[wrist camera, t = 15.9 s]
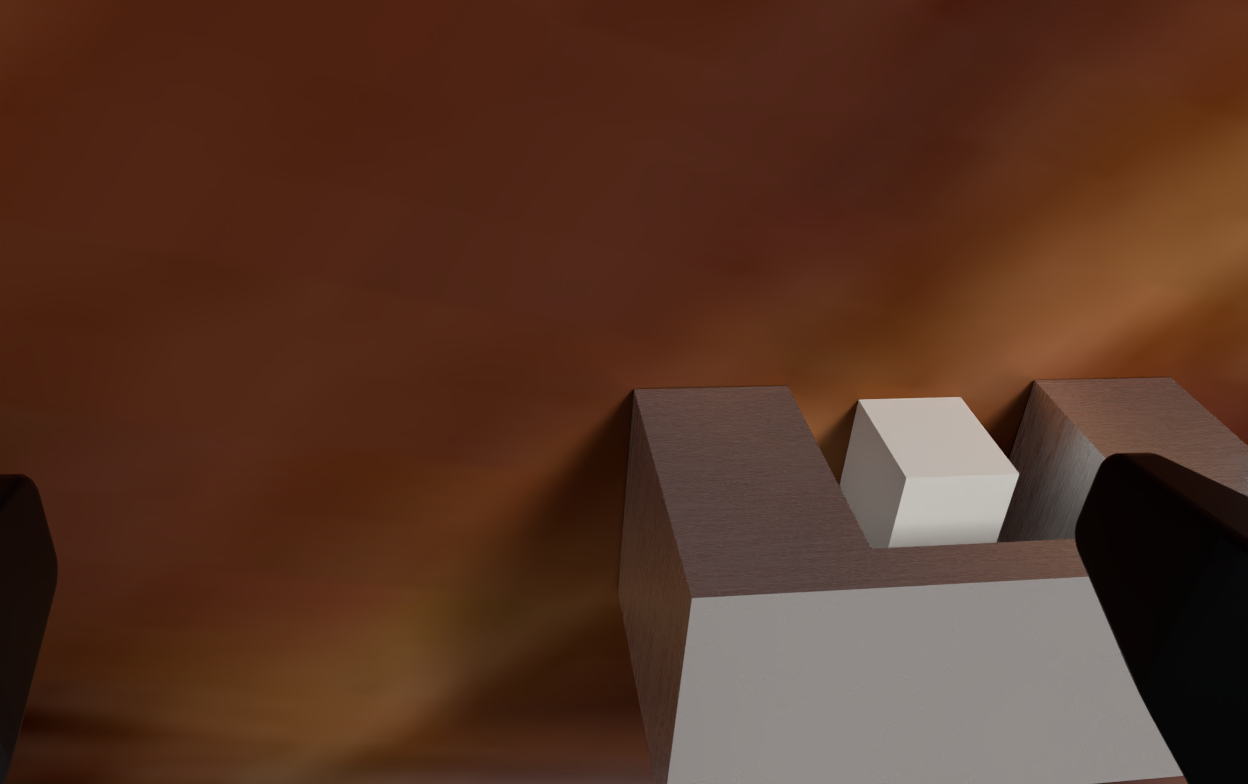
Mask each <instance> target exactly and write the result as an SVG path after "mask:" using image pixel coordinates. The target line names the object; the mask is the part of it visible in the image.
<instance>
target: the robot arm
mask: <svg viewBox="0 0 1248 784" xmlns="http://www.w3.org/2000/svg"><path fill="white" fill-rule="evenodd" d="M1075 543H1076V548H1077V551H1078V553H1079V556H1080V558H1081V560H1082V563H1083V565H1084V568H1085V570H1086V572H1087V575H1088V577H1089V579H1090V582H1091V584H1092V586H1093V589H1094V591H1095V593H1096V596H1097V598H1098V600H1099V603H1100V605H1101V607H1102V610H1103V612H1104V614H1105V617H1106V619H1107V621H1108V624H1109V626H1110V628H1111V631H1112V633H1113V635H1114V638H1115V640H1116V642H1117V645H1118V647H1119V649H1120V652H1121V654H1122V657H1123V659H1124V661H1125V664H1126V666H1127V668H1128V670H1129V673H1130V675H1131V677H1132V679H1133V681H1134V684H1135V686H1136V688H1137V690H1138V692H1139V694H1140V696H1141V698H1142V700H1143V702H1144V704H1145V706H1146V708H1147V710H1148V712H1149V714H1150V716H1151V718H1152V719H1153V721H1154V723H1155V725H1156V727H1157V729H1158V730H1159V732H1160V734H1161V736H1162V738H1163V739H1164V741H1165V743H1166V745H1167V747H1168V749H1169V750H1170V752H1171V754H1172V756H1173V758H1174V759H1175V761H1176V763H1177V765H1178V767H1179V769H1180V770H1181V772H1182V774H1183V776H1184V778H1185V779H1186V781H1187V783H1188V784H1248V496H1246V495H1244V494H1242V493H1240V492H1238V491H1235V490H1233V489H1231V488H1229V487H1227V486H1225V485H1223V484H1221V483H1218V482H1216V481H1214V480H1212V479H1210V478H1208V477H1206V476H1204V475H1201V474H1199V473H1197V472H1195V471H1193V470H1191V469H1189V468H1187V467H1184V466H1182V465H1180V464H1178V463H1176V462H1174V461H1172V460H1169V459H1167V458H1165V457H1163V456H1161V455H1158V454H1155V453H1149V452H1144V453H1115V454H1112V455H1110V456H1108V457H1107V458H1106V459H1105V460H1104V461H1103V462H1102V463H1101V464H1100V466H1099V468H1098V470H1097V473H1096V475H1095V477H1094V480H1093V482H1092V485H1091V487H1090V489H1089V492H1088V494H1087V497H1086V499H1085V502H1084V504H1083V506H1082V509H1081V511H1080V514H1079V516H1078V518H1077V521H1076V525H1075ZM57 576H58V565H57V557H56V552H55V549H54V545H53V542H52V538H51V534H50V531H49V527H48V524H47V520H46V516H45V513H44V509H43V505H42V502H41V498H40V495H39V492H38V489H37V487H36V485H35V483H34V482H33V480H32V479H30V478H29V477H27V476H25V475H23V474H0V784H4V783H5V780H6V777H7V774H8V771H9V769H10V766H11V762H12V759H13V755H14V751H15V748H16V744H17V741H18V737H19V733H20V729H21V725H22V721H23V717H24V713H25V709H26V705H27V701H28V697H29V693H30V689H31V685H32V681H33V677H34V673H35V669H36V665H37V661H38V657H39V653H40V649H41V645H42V641H43V637H44V633H45V629H46V625H47V621H48V617H49V613H50V609H51V605H52V601H53V598H54V593H55V589H56V584H57Z"/></svg>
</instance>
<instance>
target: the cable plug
mask: <svg viewBox="0 0 1248 784" xmlns="http://www.w3.org/2000/svg"><path fill="white" fill-rule="evenodd" d="M1018 477H1019V473H1018V471H1017V470H1016V469H1015V467H1014V466H1013V465H1012V464H1011V462H1010V461H1009V460H1008V458H1007V457H1006V456H1005V454H1004V453H1003V452H1002V451H1001V449H1000V448H999V447H998V445H997V444H996V443H995V441H994V440H993V439H992V438H991V436H990V435H989V434H988V432H987V431H986V430H985V428H984V427H983V426H982V425H981V423H980V422H979V421H978V419H977V418H976V417H975V415H974V414H973V413H972V412H971V410H970V409H969V408H968V406H967V405H966V404H965V402H964V401H963V400H962V399H961V397H948V398H908V399H867V400H858V405H857V409H856V414H855V418H854V423H853V427H852V432H851V436H850V441H849V445H848V450H847V454H846V459H845V464H844V468H843V473H842V477H841V482H840V486H839V487H840V488H841V490H842V492H843V494H844V496H845V498H846V500H847V502H848V504H849V506H850V508H851V510H852V512H853V514H854V516H855V518H856V519H857V521H858V523H859V525H860V527H861V529H862V531H863V533H864V535H865V537H866V539H867V541H868V543H869V545H870V547H871V548H872V549H874V548H895V547H915V546H936V545H957V544H978V543H996V542H997V539H998V536H999V533H1000V530H1001V527H1002V524H1003V521H1004V518H1005V515H1006V512H1007V509H1008V506H1009V503H1010V500H1011V498H1012V495H1013V492H1014V489H1015V486H1016V483H1017V480H1018Z"/></svg>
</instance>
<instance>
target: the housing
mask: <svg viewBox="0 0 1248 784" xmlns="http://www.w3.org/2000/svg"><path fill="white" fill-rule="evenodd" d="M1144 452H1149V453H1155V454H1158V455H1161V456H1163V457H1165V458H1167V459H1169V460H1172V461H1174V462H1176V463H1178V464H1180V465H1182V466H1184V467H1187V468H1189V469H1191V470H1193V471H1195V472H1197V473H1199V474H1201V475H1204V476H1206V477H1208V478H1210V479H1212V480H1214V481H1216V482H1218V483H1221V484H1223V485H1225V486H1227V487H1229V488H1231V489H1233V490H1235V491H1238V492H1240V493H1242V494H1244V495H1246V496H1248V446H1247V445H1246V444H1245V443H1244V442H1242V441H1241V440H1240V439H1239V438H1238V437H1237V436H1236V435H1235V434H1233V433H1232V432H1231V431H1230V430H1229V429H1228V428H1227V427H1226V426H1225V425H1223V424H1222V423H1221V422H1220V421H1219V420H1218V419H1217V418H1216V417H1214V416H1213V415H1212V414H1211V413H1210V412H1209V411H1208V410H1207V409H1205V408H1204V407H1203V406H1202V405H1201V404H1200V403H1199V402H1198V401H1196V400H1195V399H1194V398H1193V397H1192V396H1191V395H1190V394H1189V393H1187V392H1186V391H1185V390H1184V389H1183V388H1182V387H1181V386H1180V385H1178V384H1177V383H1176V382H1175V381H1174V380H1173V379H1172V378H1129V379H1084V380H1039V381H1035V382H1034V385H1033V388H1032V391H1031V394H1030V397H1029V400H1028V403H1027V406H1026V409H1025V412H1024V415H1023V419H1022V422H1021V425H1020V428H1019V431H1018V434H1017V437H1016V440H1015V443H1014V446H1013V449H1012V452H1011V455H1010V458H1009V461H1010V462H1011V464H1012V465H1013V466H1014V467H1015V469H1016V470H1017V471H1018V473H1019V477H1018V480H1017V483H1016V486H1015V489H1014V492H1013V495H1012V498H1011V500H1010V503H1009V506H1008V509H1007V512H1006V515H1005V518H1004V521H1003V524H1002V527H1001V530H1000V533H999V536H998V539H997V542H996V543H978V544H957V545H936V546H915V547H895V548H874V549H872V548H871V547H870V545H869V543H868V541H867V539H866V537H865V535H864V533H863V531H862V529H861V527H860V525H859V523H858V521H857V519H856V518H855V516H854V514H853V512H852V510H851V508H850V506H849V504H848V502H847V500H846V498H845V496H844V494H843V492H842V490H841V488H840V487H839V485H838V483H837V481H836V479H835V477H834V475H833V473H832V471H831V469H830V467H829V465H828V463H827V461H826V459H825V458H824V456H823V454H822V452H821V450H820V448H819V446H818V444H817V442H816V440H815V438H814V436H813V434H812V432H811V430H810V429H809V427H808V425H807V423H806V421H805V419H804V417H803V415H802V413H801V411H800V409H799V407H798V405H797V403H796V401H795V399H794V398H793V396H792V394H791V392H790V390H789V388H788V386H770V387H726V388H681V389H636V390H634V396H633V408H632V421H631V433H630V445H629V458H628V470H627V483H626V495H625V508H624V520H623V533H622V545H621V558H620V570H619V583H618V595H619V600H620V606H621V611H622V616H623V621H624V626H625V632H626V637H627V642H628V647H629V652H630V658H631V663H632V668H633V673H634V678H635V684H636V689H637V694H638V699H639V704H640V709H641V715H642V720H643V725H644V730H645V735H646V741H647V746H648V751H649V756H650V761H651V767H652V772H653V777H654V782H655V784H1094V783H1105V782H1116V781H1128V780H1139V779H1150V778H1162V777H1173V776H1183V774H1182V772H1181V770H1180V769H1179V767H1178V765H1177V763H1176V761H1175V759H1174V758H1173V756H1172V754H1171V752H1170V750H1169V749H1168V747H1167V745H1166V743H1165V741H1164V739H1163V738H1162V736H1161V734H1160V732H1159V730H1158V729H1157V727H1156V725H1155V723H1154V721H1153V719H1152V718H1151V716H1150V714H1149V712H1148V710H1147V708H1146V706H1145V704H1144V702H1143V700H1142V698H1141V696H1140V694H1139V692H1138V690H1137V688H1136V686H1135V684H1134V681H1133V679H1132V677H1131V675H1130V673H1129V670H1128V668H1127V666H1126V664H1125V661H1124V659H1123V657H1122V654H1121V652H1120V649H1119V647H1118V645H1117V642H1116V640H1115V638H1114V635H1113V633H1112V631H1111V628H1110V626H1109V624H1108V621H1107V619H1106V617H1105V614H1104V612H1103V610H1102V607H1101V605H1100V603H1099V600H1098V598H1097V596H1096V593H1095V591H1094V589H1093V586H1092V584H1091V582H1090V579H1089V577H1088V575H1087V572H1086V570H1085V568H1084V565H1083V563H1082V560H1081V558H1080V556H1079V553H1078V551H1077V548H1076V543H1075V525H1076V521H1077V518H1078V516H1079V514H1080V511H1081V509H1082V506H1083V504H1084V502H1085V499H1086V497H1087V494H1088V492H1089V489H1090V487H1091V485H1092V482H1093V480H1094V477H1095V475H1096V473H1097V470H1098V468H1099V466H1100V464H1101V463H1102V462H1103V461H1104V460H1105V459H1106V458H1107V457H1108V456H1110V455H1112V454H1115V453H1144Z"/></svg>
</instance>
